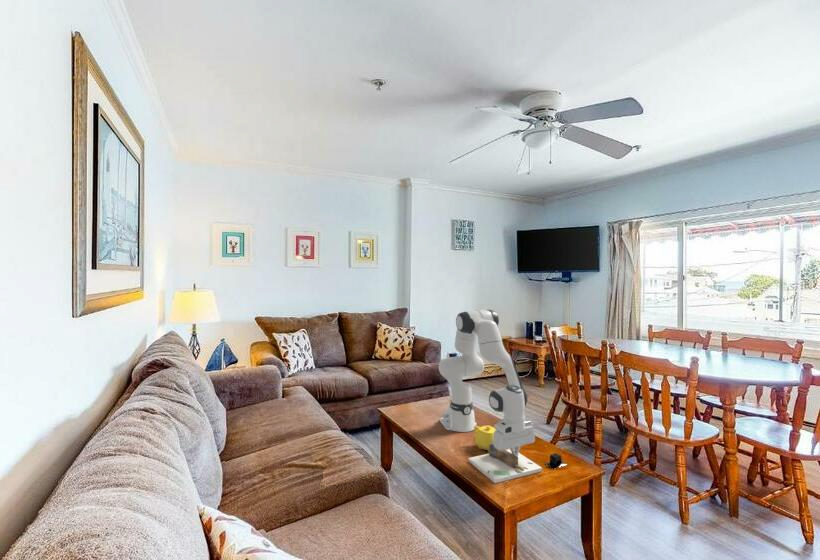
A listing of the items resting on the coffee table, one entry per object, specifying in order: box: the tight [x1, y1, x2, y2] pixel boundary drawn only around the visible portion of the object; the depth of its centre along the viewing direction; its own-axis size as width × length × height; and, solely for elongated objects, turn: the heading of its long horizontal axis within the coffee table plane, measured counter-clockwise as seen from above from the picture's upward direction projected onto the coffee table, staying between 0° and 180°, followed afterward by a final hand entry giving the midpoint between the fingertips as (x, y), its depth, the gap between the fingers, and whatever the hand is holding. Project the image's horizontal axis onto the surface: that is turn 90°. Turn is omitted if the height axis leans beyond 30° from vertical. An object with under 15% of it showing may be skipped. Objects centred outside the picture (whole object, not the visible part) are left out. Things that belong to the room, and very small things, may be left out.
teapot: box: [473, 425, 496, 453], centre depth 186 cm, size 18×11×11 cm, turn 45°
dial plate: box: [468, 448, 543, 484], centre depth 169 cm, size 20×24×2 cm
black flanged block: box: [545, 452, 568, 470], centre depth 170 cm, size 12×7×5 cm, turn 119°
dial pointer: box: [488, 443, 524, 471], centre depth 169 cm, size 20×5×4 cm, turn 30°
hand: (514, 456), depth 168 cm, fingers closed
